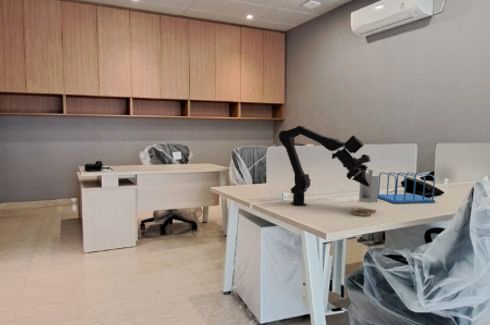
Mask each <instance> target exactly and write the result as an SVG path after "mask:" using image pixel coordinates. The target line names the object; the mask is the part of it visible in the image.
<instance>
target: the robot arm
mask: <svg viewBox="0 0 490 325" xmlns="http://www.w3.org/2000/svg"><path fill="white" fill-rule="evenodd" d="M300 135H302V136H304V137H305V138H308V139H310V140H312V141H314V142H316V143H319V144H320V145H321V146H322V147H324V148H325V149H326V150H328V151H330V152H332V153H331V159H332V160H334V159H336V158H337V159H338V161H340V163H341V164H342V166H343V168H345V169H347V171H348V172H346V178H347V179H348V180H352V181H355V182H357V183H359V184H360V183H361V184H363V185H365V186H367V187H368V186H369V183H368V182H367V180H366V179H365V177H364V176H363V170H364V169H366V170H368V166H367V165H366V164H367V163H369V162H371V159H370V158H371V157H370V155H368V154H364V153H363V154H362V155H361V157H359V158H356V157H353V156H352V154H356V153H357V152H358V151H359V150H361V149H362V147H364V146H365V145H364V143H363V141H361V139H359V138H358V137H356V135H351V136H350V138H349V139H348V140H346V141H345V142H344V141H341V140H340V139H338V138H334V137H330V136H329V137H328V136H325V135H324V134H323V135H322V134H320V133H318V132H316V131H313V130H312V129H309V128H307V127H305V126H304V125H298V126H296V127H293V128H290V129H287V130H281V131H280V132H279V133H278V140H279V141H280V143H281V144H282V146H283V147H284V149H285V150H286V153H287V156H288V158H289V163H290V165H291V167H292V171H293V174H294V178H293V179H294V186H292V187H291V188H290V192H291V194H292V201H291V202H290V203H291V204H292V205H293V206H307V203H305V192H307V190H308V189H309V188H310V187H311V182H312V181H311V179H310V175H309V173H307V174H305V172H304V170H303V167H302V164H301V162H300V158H299V155H298V153H297V150H296V147H295V141H296V139H295V138H296V137H298V136H300ZM341 148H342V149H341ZM335 151H336V152H335ZM365 163H366V164H365Z"/></svg>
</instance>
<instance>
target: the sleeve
mask: <svg viewBox="0 0 490 325" xmlns="http://www.w3.org/2000/svg"><path fill="white" fill-rule="evenodd" d="M372 174H373V169H367V170H366V169H364V170H363V176H364V177H365V179H366V180H367V182H368V183H369V186H368V187H367V186H365V185H363V184H362V190H361V198H365V199H370V198H371V190H372ZM373 175H374V174H373Z"/></svg>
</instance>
